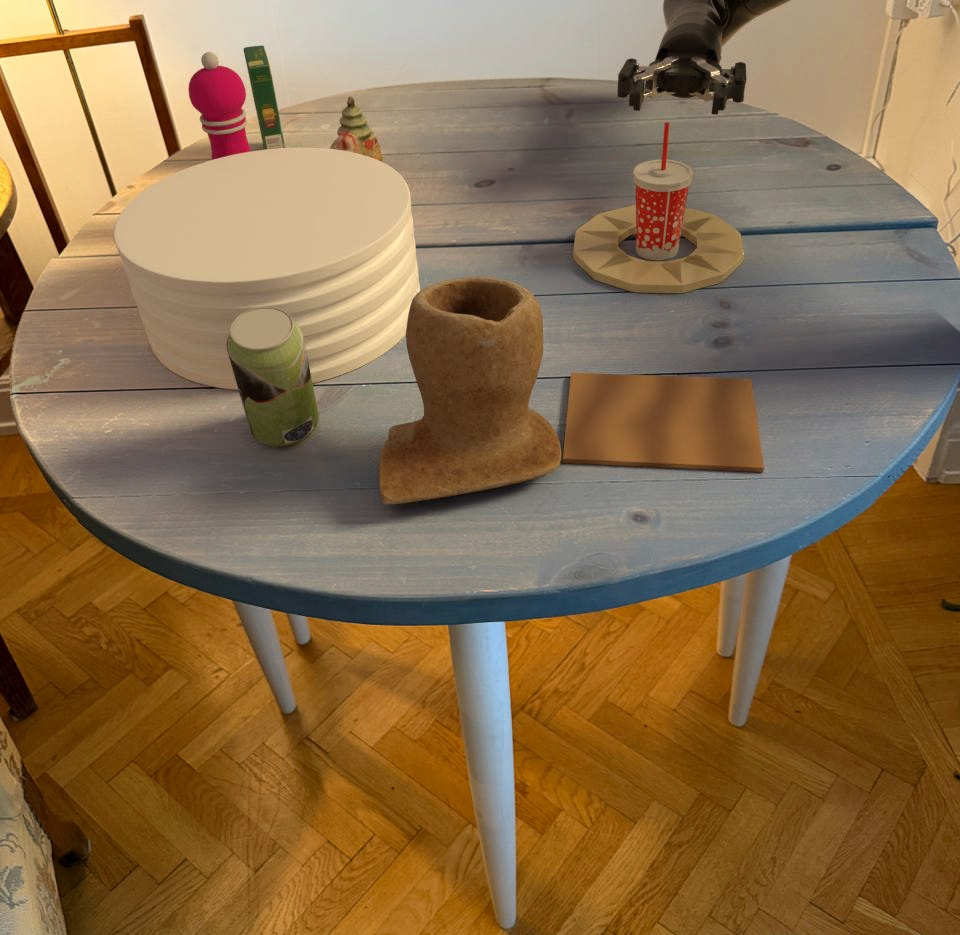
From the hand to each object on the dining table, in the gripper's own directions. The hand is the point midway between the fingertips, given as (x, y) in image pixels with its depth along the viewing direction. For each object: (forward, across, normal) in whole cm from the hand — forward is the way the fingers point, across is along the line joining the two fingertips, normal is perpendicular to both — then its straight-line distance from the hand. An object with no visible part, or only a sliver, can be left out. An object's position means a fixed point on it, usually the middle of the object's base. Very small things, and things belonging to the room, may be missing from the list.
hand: (676, 104), depth 102 cm
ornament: (-2, -40, +12) cm, 42 cm away
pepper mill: (+13, -48, +12) cm, 51 cm away
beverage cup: (+11, 0, +12) cm, 16 cm away
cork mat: (+41, +4, +12) cm, 43 cm away
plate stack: (+30, -36, +12) cm, 48 cm away
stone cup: (+49, -11, +12) cm, 52 cm away
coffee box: (-7, -54, +12) cm, 55 cm away
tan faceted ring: (+11, 0, +12) cm, 16 cm away
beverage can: (+49, -28, +12) cm, 57 cm away
